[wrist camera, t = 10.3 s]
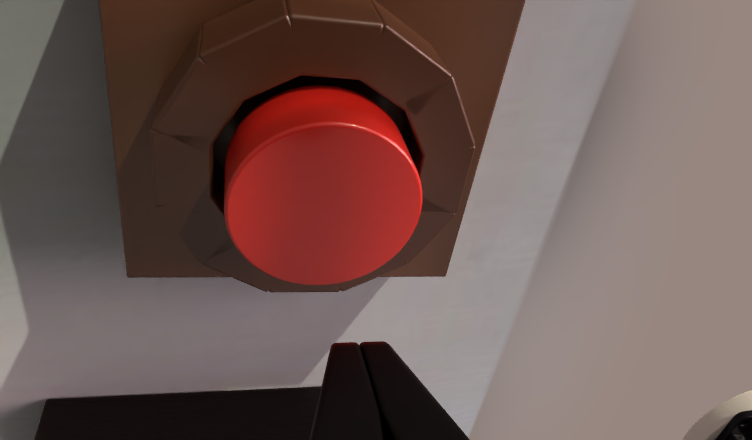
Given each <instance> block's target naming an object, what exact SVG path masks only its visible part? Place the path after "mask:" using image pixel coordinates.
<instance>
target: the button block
mask: <svg viewBox="0 0 752 440" xmlns="http://www.w3.org/2000/svg"><path fill="white" fill-rule="evenodd" d="M98 1H99V11H100V20H101V30H102V40H103V49H104V59H105V69H106V79H107V88H108V98H109V108H110V117H111V127H112V137H113V146H114V156H115V166H116V175H117V185H118V195H119V204H120V214H121V224H122V233H123V243H124V253H125V262H126V272H127V277H233V278H235V279H237V280H240V281H242V282H244V283H247V284H249V285H251V286H254V287H256V288H258V289H261V290H263V291H266V292H267V291H269V292H338V291H340V290H341V291H345V290H348V289H350V288H352V287H355V286H357V285H360V284H362V283H364V282H367V281H369V280H372V279H374V278H376V277H422V276H446V273H447V269H448V266H449V262H450V259H451V255H452V252H453V249H454V245H455V242H456V238H457V235H458V231H459V228H460V224H461V221H462V217H463V214H464V211H465V207H466V204H467V200H468V197H469V193H470V190H471V186H472V183H473V180H474V176H475V173H476V169H477V166H478V162H479V159H480V155H481V152H482V148H483V145H484V142H485V138H486V135H487V131H488V128H489V124H490V121H491V117H492V114H493V111H494V107H495V104H496V100H497V97H498V93H499V90H500V86H501V83H502V79H503V76H504V73H505V69H506V66H507V62H508V59H509V55H510V52H511V48H512V45H513V41H514V38H515V35H516V31H517V28H518V24H519V21H520V17H521V14H522V10H523V7H524V4H525V0H98ZM313 85H328V86H335V87H341V88H345V89H349V90H352V91H355V92H357V93H360V94H362V95H364V96H366V97H368V98H369V99H371V100H373V101H374V102H376V103H377V104H378V105H379V106H381V107H382V108H383V109H384V110H385V111H386V112H387V113H388V114H389V115H390V117H391V118H392V119H393V121H394V122H395V124H396V125H397V127H398V129H399V131H400V133H401V135H402V138H403V140H404V142H405V144H406V146H407V149H408V151H409V153H410V155H411V157H412V160H413V162H414V164H415V166H416V169H417V171H418V174H419V177H420V180H421V185H422V207H421V213H420V216H419V220H418V223H417V225H416V227H415V229H414V232H413V234H412V235H411V237H410V238H409V240H408V241H407V243H406V244H405V245H404V246H403V248H402V249H401V250H400V251H399V252H398V253H397V254H396V255H395V256H394V257H393V258H392V259H391V260H389V261H388V262H387V263H385V264H384V265H383V266H381V267H379V268H378V269H376V270H374V271H373V272H371V273H369V274H366V275H364V276H362V277H359V278H357V279H354V280H351V281H347V282H343V283H339V284H332V285H321V286H311V285H300V284H293V283H289V282H285V281H282V280H279V279H276V278H274V277H271V276H269V275H267V274H265V273H264V272H262V271H260V270H259V269H257V268H256V267H254V266H253V265H252V264H251V263H250V262H248V261H247V260H246V259H245V258H244V257H243V256H242V254H241V253H240V252H239V251H238V250H237V248H236V247H235V245H234V243H233V242H232V240H231V238H230V236H229V233H228V231H227V228H226V223H225V219H224V182H225V160H226V153H227V149H228V146H229V143H230V141H231V138H232V136H233V134H234V132H235V131H236V129H237V127H238V126H239V124H240V123H241V122H242V121H243V119H244V118H245V117H246V116H247V115H248V114H249V113H250V112H251V111H252V110H253V109H254V108H256V107H257V106H258V105H260V104H261V103H263V102H264V101H266V100H267V99H269V98H271V97H273V96H275V95H277V94H279V93H282V92H285V91H287V90H290V89H294V88H299V87H304V86H313Z"/></svg>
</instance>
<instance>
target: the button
mask: <svg viewBox="0 0 752 440" xmlns="http://www.w3.org/2000/svg"><path fill="white" fill-rule="evenodd" d="M421 207H422V185H421V180H420V177H419V174H418V171H417V169H416V166H415V164H414V162H413V160H412V157H411V155H410V153H409V151H408V149H407V146H406V144H405V142H404V140H403V138H402V135H401V133H400V131H399V129H398V127H397V125H396V124H395V122H394V121H393V119H392V118H391V117H390V115H389V114H388V113H387V112H386V111H385V110H384V109H383V108H382V107H381V106H379V105H378V104H377V103H376V102H374V101H373V100H371V99H369V98H368V97H366V96H364V95H362V94H360V93H357V92H355V91H352V90H349V89H345V88H341V87H335V86H328V85H313V86H304V87H299V88H294V89H290V90H287V91H285V92H282V93H279V94H277V95H275V96H273V97H271V98H269V99H267V100H266V101H264V102H263V103H261V104H260V105H258V106H257V107H256V108H254V109H253V110H252V111H251V112H250V113H249V114H248V115H247V116H246V117H245V118H244V119H243V121H242V122H241V123H240V124H239V126H238V127H237V129H236V131H235V132H234V134H233V136H232V138H231V141H230V143H229V146H228V149H227V153H226V160H225V182H224V219H225V223H226V228H227V231H228V233H229V236H230V238H231V240H232V242H233V243H234V245H235V247H236V248H237V250H238V251H239V252H240V253H241V254H242V256H243V257H244V258H245V259H246V260H247V261H248V262H250V263H251V264H252V265H253V266H254V267H256V268H257V269H259V270H260V271H262V272H264V273H265V274H267V275H269V276H271V277H274V278H276V279H279V280H282V281H285V282H289V283H293V284H300V285H311V286H321V285H332V284H339V283H343V282H347V281H351V280H354V279H357V278H359V277H362V276H364V275H366V274H369V273H371V272H373V271H374V270H376V269H378V268H379V267H381V266H383V265H384V264H385V263H387V262H388V261H389V260H391V259H392V258H393V257H394V256H395V255H396V254H397V253H398V252H399V251H400V250H401V249H402V248H403V246H404V245H405V244H406V243H407V241H408V240H409V238H410V237H411V235H412V234H413V232H414V229H415V227H416V225H417V223H418V220H419V216H420V213H421Z"/></svg>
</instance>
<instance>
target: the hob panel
mask: <svg viewBox="0 0 752 440" xmlns="http://www.w3.org/2000/svg"><path fill="white" fill-rule="evenodd" d="M320 392H321V387H303V388H281V389H260V390H239V391H217V392H196V393H174V394H153V395H131V396H110V397H89V398H67V399H48V400H46V402H45V405H44V409H43V412H42V415H41V419H40V422H39V425H38V429H37V432H36V435H35V439H34V440H309V439H310V435H311V431H312V426H313V422H314V418H315V413H316V409H317V405H318V400H319V396H320Z"/></svg>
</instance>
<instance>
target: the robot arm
mask: <svg viewBox="0 0 752 440" xmlns="http://www.w3.org/2000/svg"><path fill="white" fill-rule="evenodd" d="M309 440H469V438H468V437H467V436H466V435H465V434H464V432H463V431H462V430H461V429H460V428H459V427H458V425H457V424H456V423H455V422H454V421H453V419H452V418H451V417H450V416H449V415H448V413H447V412H446V411H445V410H444V409H443V408H442V406H441V405H440V404H439V403H438V402H437V400H436V399H435V398H434V397H433V396H432V395H431V393H430V392H429V391H428V390H427V389H426V387H425V386H424V385H423V384H422V383H421V382H420V380H419V379H418V378H417V377H416V376H415V374H414V373H413V372H412V371H411V370H410V369H409V367H408V366H407V365H406V364H405V363H404V361H403V360H402V359H401V358H400V357H399V356H398V354H397V353H396V352H395V351H394V350H393V348H392V347H391V346H390V345H389V344H388V343H386V342H363V343H361V344H360V345H358V344H357V343H355V342H349V343H334V344H332V346H331V349H330V353H329V357H328V361H327V366H326V370H325V374H324V379H323V383H322V387H321V392H320V396H319V400H318V405H317V409H316V413H315V418H314V422H313V426H312V431H311V435H310V439H309ZM715 440H752V410H749V411H742V412H739V413H737V414H736V415H735V416H734V417H733V418H732V419H731V420H730V422H729V423H728V424H727V425H726V427H725V428H724V429H723V430H722V432H721V433H720V434H719V436H718V437H717V438H716V439H715Z"/></svg>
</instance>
